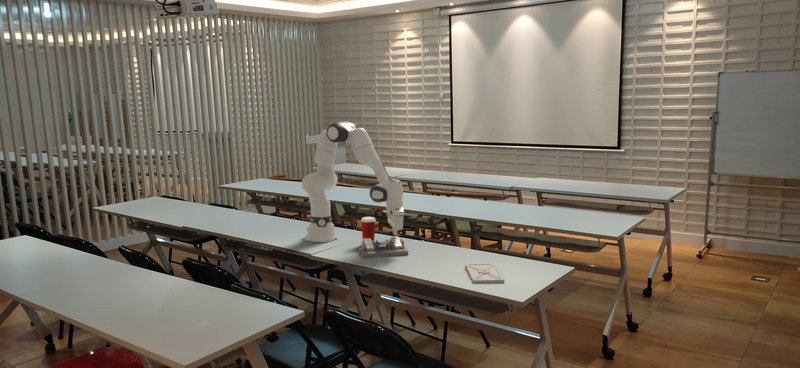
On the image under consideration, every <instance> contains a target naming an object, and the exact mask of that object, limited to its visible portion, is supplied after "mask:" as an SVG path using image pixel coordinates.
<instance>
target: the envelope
mask: <svg viewBox="0 0 800 368" xmlns="http://www.w3.org/2000/svg"><path fill="white" fill-rule="evenodd" d="M464 268H465V271H466V272H467V274H468V276H469V278H470V280H471V282H472V283H473V284H503V283H505V279H504V277H503V275H502V274H501V272H500V271H499V269H498V268H497V267H496V265H495V263H491V262H490V263H465V266H464Z"/></svg>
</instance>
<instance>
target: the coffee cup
mask: <svg viewBox="0 0 800 368" xmlns="http://www.w3.org/2000/svg"><path fill="white" fill-rule="evenodd" d="M376 221H377V219H376V218H375V217H373V216H364V217H362V218H361V220H360V222H361V234H362V241H363V239H368V238H371V240H374V241H375V234H376V233H375V232H376V231H375V230H376ZM363 242H364V241H363Z"/></svg>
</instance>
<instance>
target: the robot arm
mask: <svg viewBox="0 0 800 368" xmlns="http://www.w3.org/2000/svg"><path fill="white" fill-rule="evenodd" d="M318 137H319V138H318V141H317V145H316V149H315V154H314V158H313V159H314V163H315V164H316V166H317V168H316V169H317V171H316V172H311V173H309V174H307V175H305V176H304V177H303V178H302V180H301V188H302V189H303V191H304V192H305V193H307V196H308V199H309V203H310V204H309V205H310V218H309V219H310V220H309V221H310V223H309V225H308V226H307V227H306V232H307V233H306V236H305V238H304V241H305V242H313V243H328V242H331V241H333V240H338V236H337V235H335V224H334V223H333V222H332V218H333V217H332V214H331V201H330V199H328V198H327V196H326V191H330V190H331V189H333V188H335V186H337V184H338V180H339V179H338V176H337V174H336V173H335V159H336V155H337V148H338V145H339V143H346V142H347V143H349V145H350V146H351V148H352V151H353V154H354V157H355V158H356V161H357V162H358V163H360V164H361V165H364V166H366V167H369V168H370V169H371V170H372V171H373V172H374V175H375V176H376V179H377V180H378V184H375V185H373V186H372V187H371V188H370V189H369V197H370V199H371V201H373V203H383V202H385V203H386V213H387V223H388V224H389V225H390V226H391V229H392V234H393V236H398V233H399V232H398V231H402V230H403V228H404V216H405V210H404V201H403V197H404V188H403V182H402V181H401V180H400V179H397V178H391V177H390V174H389V173H388V171H387V169H386V167H385V165H384V163H383V161H382V159H381V157H380V156H379V155H378V153H377V151H376V149H375V146H374V144H373V140H371V137H370V136H369V134H368V132H367V131H366V129H365V128H363V127H359V125H358V124H357V123H356V122H353V121H349V120H348V121H339V122H334V123H331V124H330V125H329V126H327V128H326V129H324V130H322V131H321V133H320V135H319V136H318Z"/></svg>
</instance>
